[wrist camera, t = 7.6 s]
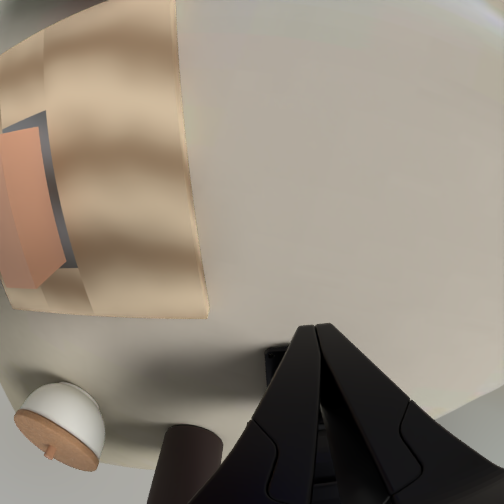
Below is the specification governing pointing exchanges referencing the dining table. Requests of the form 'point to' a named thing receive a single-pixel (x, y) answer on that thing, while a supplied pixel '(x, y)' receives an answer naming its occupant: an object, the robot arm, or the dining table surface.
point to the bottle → (184, 464)
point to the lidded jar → (64, 424)
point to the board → (110, 161)
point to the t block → (26, 213)
